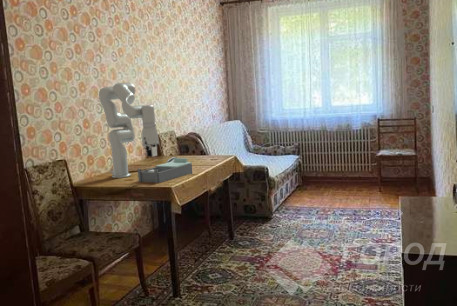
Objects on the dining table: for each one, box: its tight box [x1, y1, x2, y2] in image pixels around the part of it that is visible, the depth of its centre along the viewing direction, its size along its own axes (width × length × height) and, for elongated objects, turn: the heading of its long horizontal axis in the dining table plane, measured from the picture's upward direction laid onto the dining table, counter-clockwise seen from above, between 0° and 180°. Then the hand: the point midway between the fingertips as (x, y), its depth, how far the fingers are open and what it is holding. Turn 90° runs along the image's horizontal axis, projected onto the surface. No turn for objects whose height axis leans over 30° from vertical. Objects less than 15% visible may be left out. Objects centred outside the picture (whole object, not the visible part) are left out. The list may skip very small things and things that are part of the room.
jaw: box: [146, 146, 158, 158], centre depth 264 cm, size 5×4×6 cm
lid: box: [155, 157, 192, 168], centre depth 280 cm, size 16×16×3 cm
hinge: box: [165, 156, 178, 163], centre depth 306 cm, size 17×5×10 cm, turn 158°
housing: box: [137, 163, 193, 184], centre depth 273 cm, size 16×34×9 cm, turn 149°
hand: (152, 155), depth 264 cm, fingers closed on jaw, 4 cm apart
